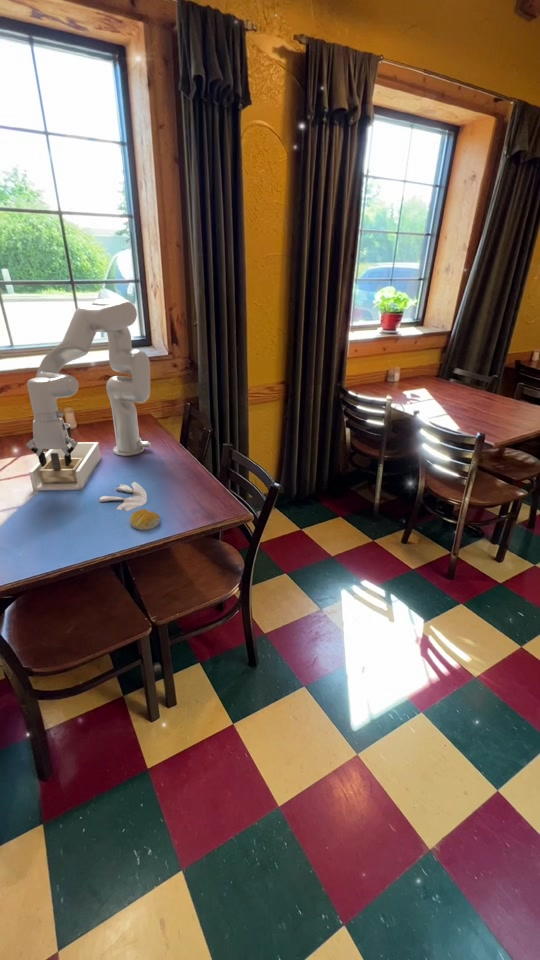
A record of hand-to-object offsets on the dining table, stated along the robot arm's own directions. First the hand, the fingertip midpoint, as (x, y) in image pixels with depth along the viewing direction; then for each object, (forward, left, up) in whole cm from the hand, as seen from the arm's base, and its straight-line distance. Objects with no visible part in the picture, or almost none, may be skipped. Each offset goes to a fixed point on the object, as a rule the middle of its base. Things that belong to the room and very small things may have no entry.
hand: (56, 464), depth 153 cm
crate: (0, -5, -7) cm, 8 cm away
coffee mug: (+11, -37, -9) cm, 40 cm away
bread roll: (-33, +27, -9) cm, 44 cm away
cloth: (-23, +8, -9) cm, 26 cm away
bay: (0, -11, -8) cm, 14 cm away
